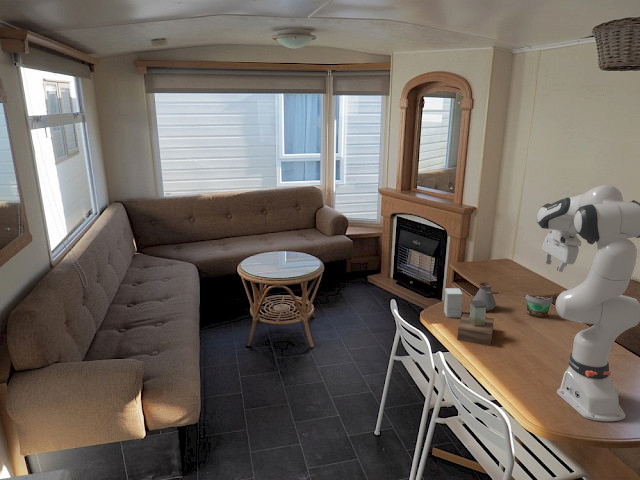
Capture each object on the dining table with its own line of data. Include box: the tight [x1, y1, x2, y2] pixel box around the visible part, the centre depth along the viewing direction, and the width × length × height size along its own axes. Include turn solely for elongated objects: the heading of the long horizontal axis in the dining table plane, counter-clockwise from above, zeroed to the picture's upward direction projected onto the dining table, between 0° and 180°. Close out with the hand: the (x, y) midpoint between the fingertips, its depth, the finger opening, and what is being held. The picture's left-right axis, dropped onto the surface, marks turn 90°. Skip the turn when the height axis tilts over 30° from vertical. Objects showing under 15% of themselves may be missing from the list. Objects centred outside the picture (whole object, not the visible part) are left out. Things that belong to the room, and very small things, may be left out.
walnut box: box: [456, 313, 495, 346], centre depth 211 cm, size 16×14×6 cm
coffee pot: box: [472, 282, 501, 312], centre depth 231 cm, size 21×12×15 cm, turn 2°
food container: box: [524, 294, 554, 319], centre depth 227 cm, size 12×6×10 cm, turn 73°
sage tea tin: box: [469, 300, 487, 326], centre depth 209 cm, size 5×5×10 cm
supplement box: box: [443, 287, 464, 318], centre depth 230 cm, size 7×7×13 cm
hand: (553, 267), depth 197 cm, fingers open, 8 cm apart
